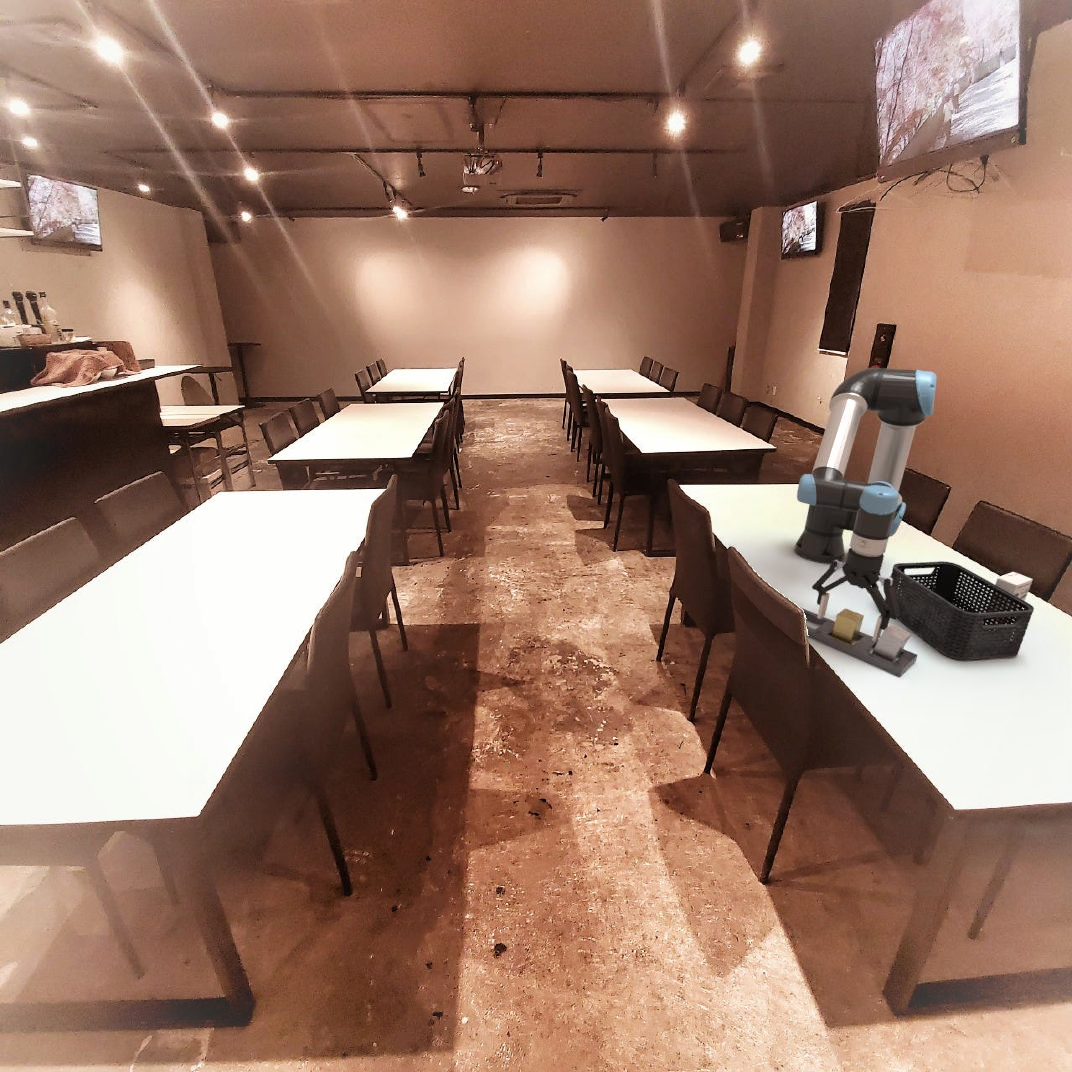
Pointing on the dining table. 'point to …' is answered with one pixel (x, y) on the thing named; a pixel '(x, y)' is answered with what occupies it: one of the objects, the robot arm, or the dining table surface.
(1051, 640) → the dining table surface
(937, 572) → the storage bin
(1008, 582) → the ink box
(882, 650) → the light grey block
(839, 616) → the maple wood beam
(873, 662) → the rail
